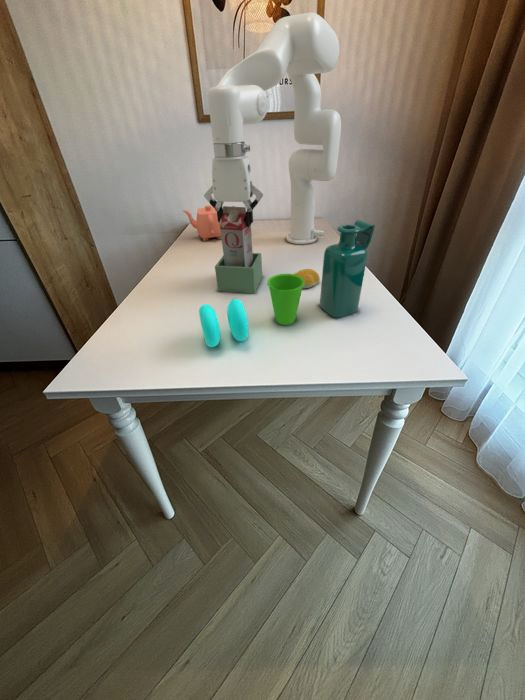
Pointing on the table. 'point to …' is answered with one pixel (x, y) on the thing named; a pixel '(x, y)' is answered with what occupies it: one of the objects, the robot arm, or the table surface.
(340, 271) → the pitcher
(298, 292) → the cup
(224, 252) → the juice carton
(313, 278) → the bread roll
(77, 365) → the table surface
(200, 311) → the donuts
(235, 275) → the bin
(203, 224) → the teapot
